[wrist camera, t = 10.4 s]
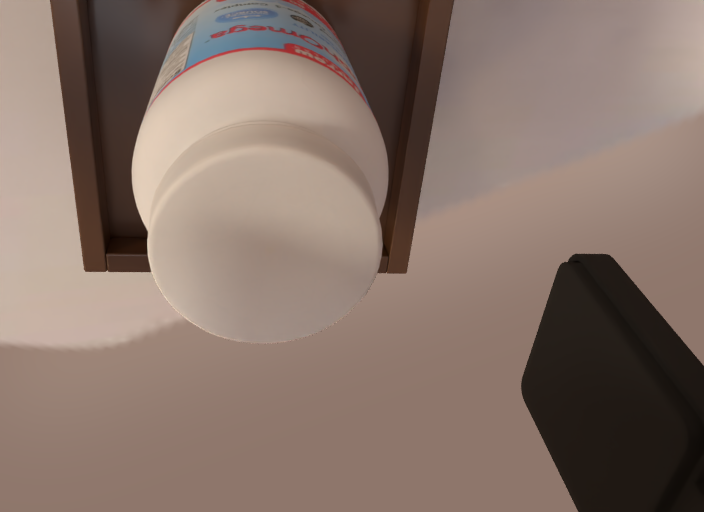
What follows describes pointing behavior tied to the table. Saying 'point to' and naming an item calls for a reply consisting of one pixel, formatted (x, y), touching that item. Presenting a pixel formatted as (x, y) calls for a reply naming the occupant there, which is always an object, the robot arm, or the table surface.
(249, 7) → the pill bottle
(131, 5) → the rack
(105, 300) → the table surface
